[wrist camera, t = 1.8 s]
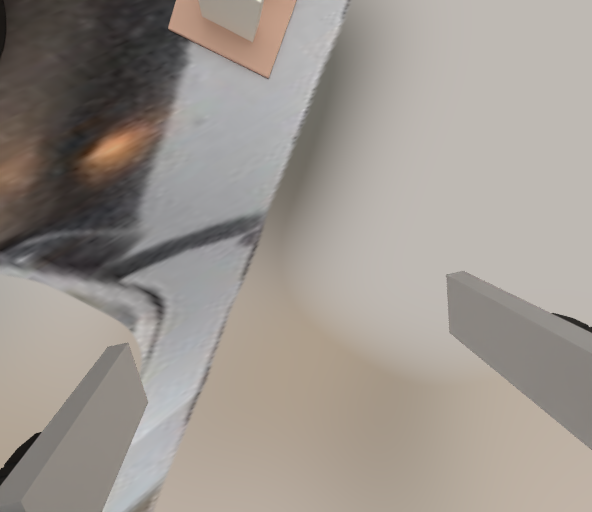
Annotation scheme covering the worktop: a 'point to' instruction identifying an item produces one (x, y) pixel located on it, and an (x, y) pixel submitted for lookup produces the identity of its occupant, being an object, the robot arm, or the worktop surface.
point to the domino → (234, 15)
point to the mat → (231, 45)
